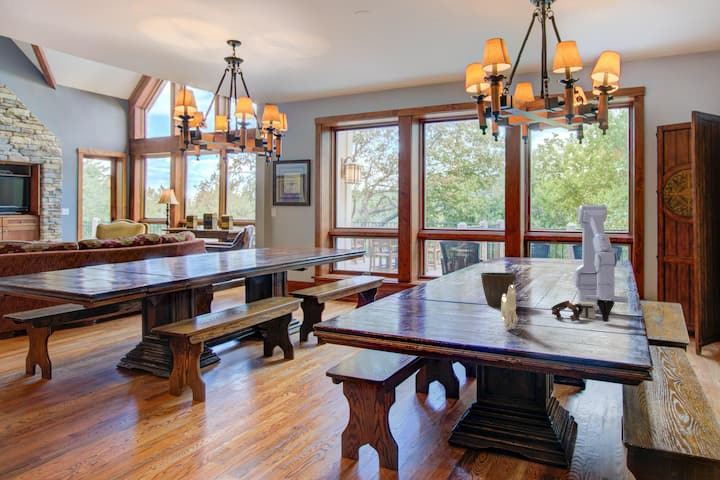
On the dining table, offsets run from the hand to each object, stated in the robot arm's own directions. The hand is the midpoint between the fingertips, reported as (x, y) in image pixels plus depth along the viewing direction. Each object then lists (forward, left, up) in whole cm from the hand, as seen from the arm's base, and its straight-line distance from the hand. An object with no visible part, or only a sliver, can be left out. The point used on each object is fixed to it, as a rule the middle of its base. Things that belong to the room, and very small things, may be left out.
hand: (605, 321), depth 178 cm
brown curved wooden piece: (-1, -11, -2) cm, 11 cm away
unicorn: (+27, -27, -1) cm, 38 cm away
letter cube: (-11, -8, -1) cm, 14 cm away
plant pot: (-12, -44, -1) cm, 46 cm away
